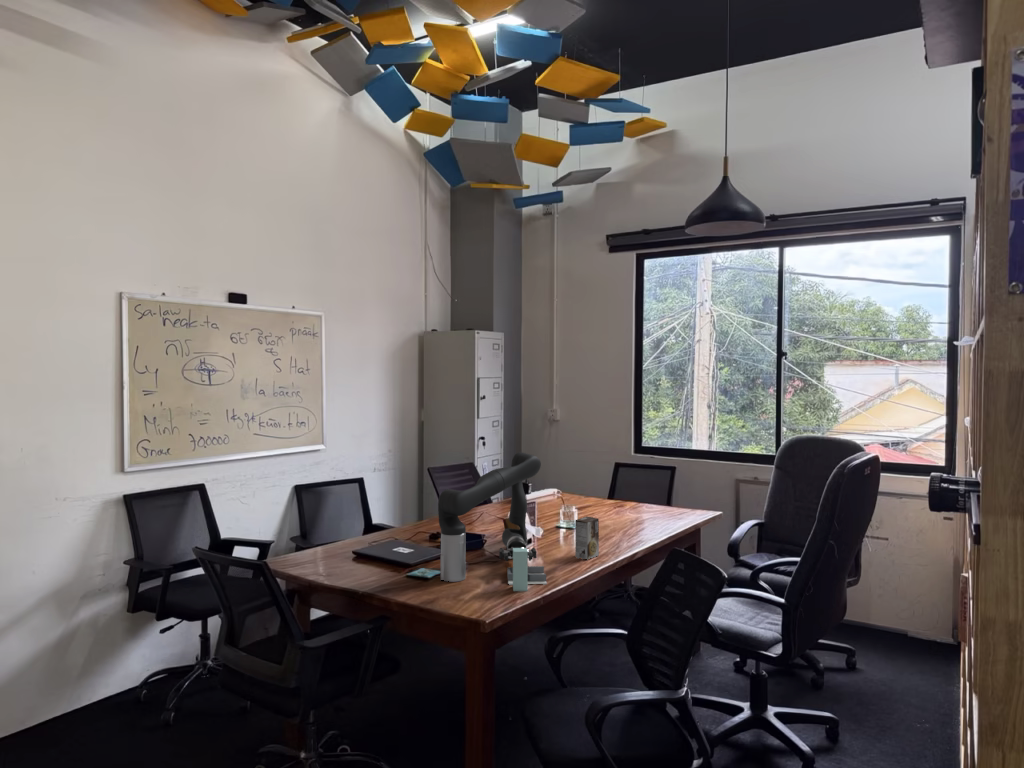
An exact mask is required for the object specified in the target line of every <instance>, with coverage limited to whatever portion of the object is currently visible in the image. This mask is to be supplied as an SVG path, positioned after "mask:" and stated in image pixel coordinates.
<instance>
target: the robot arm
mask: <svg viewBox="0 0 1024 768" xmlns="http://www.w3.org/2000/svg"><path fill="white" fill-rule="evenodd" d="M510 465H511V466H507V467H501V468H500V467H499V468H496V469H491V470H489V471H488V472H486V473H484V474H483V475H481V476H480V477H479V478H478V480H477V482H476V483H475V484H474V486H472V487H469V488H467V489H464V490H458V489H457V490H456V489H451V488H450V489H445V490H443V491H441V493H440V494H439V497H438V502H437V510H438V511H437V513H438V524H439V525H438V526H439V527H440V581H441V580H444V581H443V582H448V581H449V582H451V583H453V582H462V581H464V580H466V568H467V567H466V561H467V560H466V557H467V556H466V555H467V554H466V552H467V551H466V544H467V541H466V540H467V539H466V536H467V535H466V532H467V531H466V525H465V524H464V523H463V522H462V521H461V520H460V518H459V517H460V516H464V515H466V514H467V513H468V512H470V511H472V510H473V509H474V508H475V507H477V506H478V505H480V504H481V503H483V502H485V501H486V500H489V499H490V498H492V497H494V496H496V495H499V494H500V493H501V492H503V491H504V490H506V489H509V488H510V487H511V501H510V508H509V516H508V521H509V523H510V524H513V525H515V526H517V527H519V528H518V529H517V528H509V527H508V528H505V529H504V530H503V531H502V535H501V539H502V543H503V544H504V546H505V547H506V550H505V549H504V548H502V547H500V548H499V552H498V553H499V554H498V557H499V559H501V560H502V559H504V561H506V562H509V560H511V559H513V548H527V543H528V542H527V541H528V534H527V528H526V527H527V526H526V518H527V512H528V501H527V497H526V494H525V491H524V490H525V489H524V486H523V481H526V480H528V479H530V478H533V477H535V476H536V475H537V474H538V473H539V471H540V470H541V468H542V462H541V460H540V458H539V457H538V456H536V455H534V454H530V453H526V452H523V451H522V452H521V451H519V452H516V453H515V454H514V455H513V456H512V460H511V464H510ZM527 551H528V561H529V562H531V561H532V560H533V559H537V556H538V555H537V553H538V552H537V550H536V548H535V547H532V548H530V549H528V548H527Z"/></svg>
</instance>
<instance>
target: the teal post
mask: <svg viewBox="0 0 1024 768" xmlns="http://www.w3.org/2000/svg"><path fill="white" fill-rule="evenodd" d="M527 549H528V548H527V547H526V548H513V558H512V567H513V585H512V591H513V592H528V590H529V589H528V561H529V559H528V551H527Z"/></svg>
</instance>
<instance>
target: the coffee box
mask: <svg viewBox="0 0 1024 768" xmlns="http://www.w3.org/2000/svg"><path fill="white" fill-rule="evenodd" d="M574 522H575V526H574V527H575V529H574V530H575V543H574V544H575V545H574V546H575V549H574V550H575V553H574V554H575V555H574V556H575V557H577V558H576V559H579V558H582V559H581V560H583V559H587V560H586V561H589V560H588V559H590V558H592V559H594V558H597V557H599V556H600V548H599V547H600V542H599V541H600V539H599V538H600V535H599V534H600V532H599V531H600V529H599V527H600V526H599V524H600V523H599V522H600V519H599V518H597V517H593V516H584V517H581V518H578V519H575V521H574ZM598 555H599V556H598ZM596 556H597V557H596ZM575 557H574V558H575ZM593 557H594V558H593ZM590 560H591V559H590Z"/></svg>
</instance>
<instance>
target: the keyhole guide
mask: <svg viewBox="0 0 1024 768" xmlns="http://www.w3.org/2000/svg"><path fill="white" fill-rule="evenodd" d="M506 571H507V572H506V574H507V575H506V576H507V584H509V585H508V586H513V566H511V567H509V566H508V567H507V568H506ZM528 584H543V585H548V582H547V573H545V566H544V565H540V566H539V565H536V566H535V565H534V566H533V565H532V566H531V565H529V566H528Z"/></svg>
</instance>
